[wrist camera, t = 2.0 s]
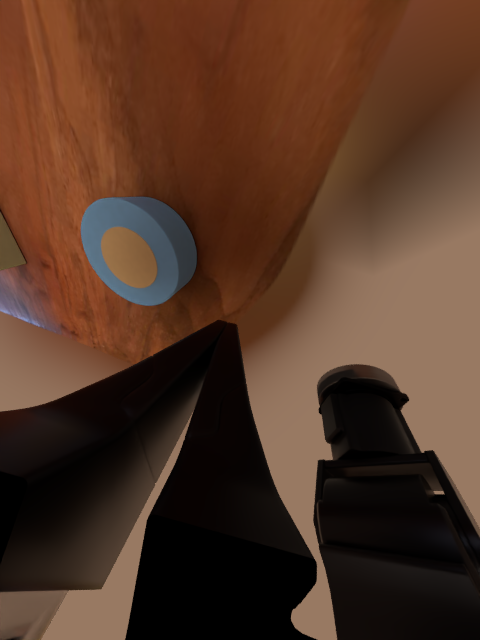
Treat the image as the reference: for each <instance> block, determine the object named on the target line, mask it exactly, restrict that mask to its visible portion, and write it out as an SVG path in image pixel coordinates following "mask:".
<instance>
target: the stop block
mask: <svg viewBox="0 0 480 640" xmlns="http://www.w3.org/2000/svg"><path fill="white" fill-rule="evenodd" d="M23 264H26V261H25V259H24V257H23V255H22V253H21V251H20V249H19V247H18V245H17V243H16V241H15V239H14V237H13V235H12V233H11V231H10V229H9V227H8V225H7V223H6V221H5V219H4V217H3V216H2V214H1V212H0V270H4V269H8V268H11V267H15V266H19V265H23Z"/></svg>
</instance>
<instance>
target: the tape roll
mask: <svg viewBox="0 0 480 640" xmlns="http://www.w3.org/2000/svg"><path fill="white" fill-rule="evenodd" d="M81 238H82V243H83V247H84V250H85V253H86V256H87V258H88V260H89V262H90V264H91V265H92V267H93V269H94V270H95V272H96V273H97V275H98V276H99V277H100V278H101V280H102V281H103V282H104V283H105V284H106V285H107V286H108V287H109V288H110V289H111V290H113V291H114V292H115V293H117V294H118V295H120V296H121V297H123V298H125V299H126V300H128V301H131V302H133V303H136V304H140V305H147V306H152V305H158V304H161V303H164V302H165V301H167V300H168V299H169V298H171V297H172V296H173V295H174V294H175V293H176V292H178V291H179V290H180V289H181V288H182V287H183V286H185V285H186V284H187V283H188V282H189V281H190V280H191V278H192V276H193V275H194V272H195V269H196V264H197V252H196V246H195V242H194V239H193V237H192V234H191V232H190V230H189V228H188V226H187V225H186V223H185V222H184V221H183V219H182V218H181V217H180V216H179V215H178V214H177V213H176V212H175V211H174V210H173V209H172V208H171V207H169V206H168V205H166V204H165V203H163V202H161V201H159V200H157V199H154V198H150V197H110V198H103V199H99V200H97V201H95V202H94V203H92V204H91V205H90V206H89V207H88V209H87V210H86V211H85V213H84V216H83V219H82V223H81Z"/></svg>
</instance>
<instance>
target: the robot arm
mask: <svg viewBox="0 0 480 640" xmlns="http://www.w3.org/2000/svg"><path fill="white" fill-rule="evenodd" d="M408 401H409V397H408V396H407V394H405V393H402V392H398V391H394V390H391V389H387V388H383V387H380V386H376V385H373V384H369V383H365V382H362V381H358V380H354V379H351V378H347V377H343V378H341V379H340V380H339V381H338V382H337V384H336V385H335V386H334V388H333V389H332V391H330V392H329V393H328V395H327V396H326V397H325V399H324V400H323V402H322V403H321V406H320V407H319V409H318V410H319V413H320V414H321V415H322V419H323V427H324V433H325V440H326V442H327V443H329V444H331V450H332V456H333V460H326V461H325V460H318V467H317V479H316V492H315V505H314V519H313V521H314V526H315V529H316V535H317V539H318V543H319V550H320V553H321V557H322V560H323V563H324V566H325V570H326V574H327V579H328V583H329V588H330V593H331V599H332V605H333V612H334V618H335V626H336V633H337V640H480V529H479V527H478V525H477V523H476V521H475V519H474V518H473V515H472V514H471V512H470V510H469V508H468V507H467V505H466V503H465V502H464V500H463V498H462V496H461V494H460V493H459V491H458V489H457V487H456V486H455V484H454V482H453V480H452V479H451V477H450V476H449V474H448V473H447V471H446V470H445V468H444V466H443V465H442V463H441V462H440V460H439V458H438V457H437V455H436V454H435V452H434V451H433V450H431V451H424V452H425V453H421V451H420V449H419V447H418V445H417V443H416V441H415V439H414V437H413V435H412V433H411V431H410V429H409V427H408V425H407V423H406V421H405V419H404V417H403V415H402V413H401V411H400V408H401V407H402V406H404V405H405V404H406V403H407V402H408ZM194 408H195V409H194ZM193 410H194V412H193ZM192 412H193V415H192V418H191V421H190V424H189V427H188V430H187V433H186V436H185V440H184V442H183V445H182V448H181V451H180V453H179V456H178V458H177V461H176V463H175V465H174V467H173V469H172V471H171V473H170V475H169V477H168V479H167V481H166V483H165V485H164V487H163V489H162V491H161V493H160V495H159V497H158V499H157V501H156V503H155V505H154V507H153V509H152V511H151V513H150V515H149V517H148V519H147V524H146V529H145V534H144V540H143V546H142V551H141V557H140V562H139V568H138V574H137V579H136V585H135V590H134V596H133V602H132V608H131V613H130V619H129V624H128V629H127V634H126V639H125V640H316V639H314V638H312V637H309V636H307V635H305V634H302V633H301V632H299V631H298V630H297V629H296V628H295V627H294V625H293V623H292V622H291V613H292V610H293V609H295V608H296V607H297V606H298V604H300V603H301V602H302V600H303V599H304V598H305V597H306V595H307V594H308V593H309V591H311V589H312V588H313V586H314V585H315V584H316V580H317V564H316V561H315V559H314V557H313V556H312V554H311V552H310V550H309V548H308V547H307V545H306V543H305V541H304V539H303V538H302V536H301V534H300V532H299V531H298V529H297V527H296V525H295V523H294V522H293V520H292V518H291V516H290V514H289V513H288V511H287V509H286V507H285V506H284V504H283V502H282V500H281V498H280V496H279V494H278V492H277V489H276V487H275V485H274V482H273V479H272V476H271V474H270V470H269V467H268V465H267V461H266V458H265V455H264V451H263V448H262V444H261V441H260V438H259V435H258V432H257V428H256V425H255V421H254V418H253V414H252V410H251V406H250V401H249V396H248V391H247V384H246V379H245V373H244V366H243V359H242V353H241V347H240V340H239V335H238V327H237V325H236V324H233V323H227V322H226V321H222V320H217V321H215V322H213V323H211V324H210V325H208V326H206V327H204V328H202V329H200V330H198V331H197V332H195V333H193V334H191V335H189V336H187V337H186V338H184V339H182V340H180V341H178V342H176V343H174V344H173V345H171V346H169V347H167V348H165V349H163V350H161V351H160V352H158V353H156V354H154V355H153V356H150V357H148V358H146V359H145V360H143V361H141V362H139V363H137V364H135V365H133V366H131V367H129V368H127V369H125V370H123V371H120V372H118V373H116V374H114V375H112V376H110V377H108V378H105V379H103V380H101V381H98V382H96V383H94V384H91V385H89V386H87V387H85V388H82V389H80V390H78V391H75V392H74V393H71V394H69V395H66V396H64V397H62V398H59V399H57V400H54V401H51V402H48V403H46V404H42V405H39V406H35V407H30V408H25V409H18V410H11V411H2V412H0V640H41V639H42V637H43V635H44V633H45V632H46V630H47V628H48V626H49V625H50V623H51V621H52V619H53V617H54V616H55V614H56V612H57V610H58V609H59V607H60V605H61V603H62V601H63V599H64V598H65V596H66V594H67V593H68V591H69V590H95V589H102V587H103V585H104V583H105V581H106V579H107V577H108V575H109V574H110V572H111V570H112V568H113V566H114V564H115V562H116V560H117V558H118V556H119V554H120V552H121V550H122V548H123V546H124V544H125V542H126V540H127V538H128V537H129V535H130V533H131V531H132V529H133V527H134V525H135V523H136V521H137V519H138V517H139V515H140V513H141V511H142V509H143V507H144V505H145V503H146V502H147V500H148V498H149V496H150V494H151V492H152V490H153V488H154V486H155V483H156V482H157V480H158V478H159V476H160V474H161V472H162V470H163V469H164V467H165V465H166V463H167V461H168V459H169V457H170V455H171V453H172V451H173V449H174V447H175V445H176V443H177V441H178V439H179V437H180V435H181V434H182V431H183V430H184V428H185V426H186V424H187V422H188V420H189V418H190V416H191V414H192ZM433 491H444V493H445V494H443V495H442V494H434V492H433Z"/></svg>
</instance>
